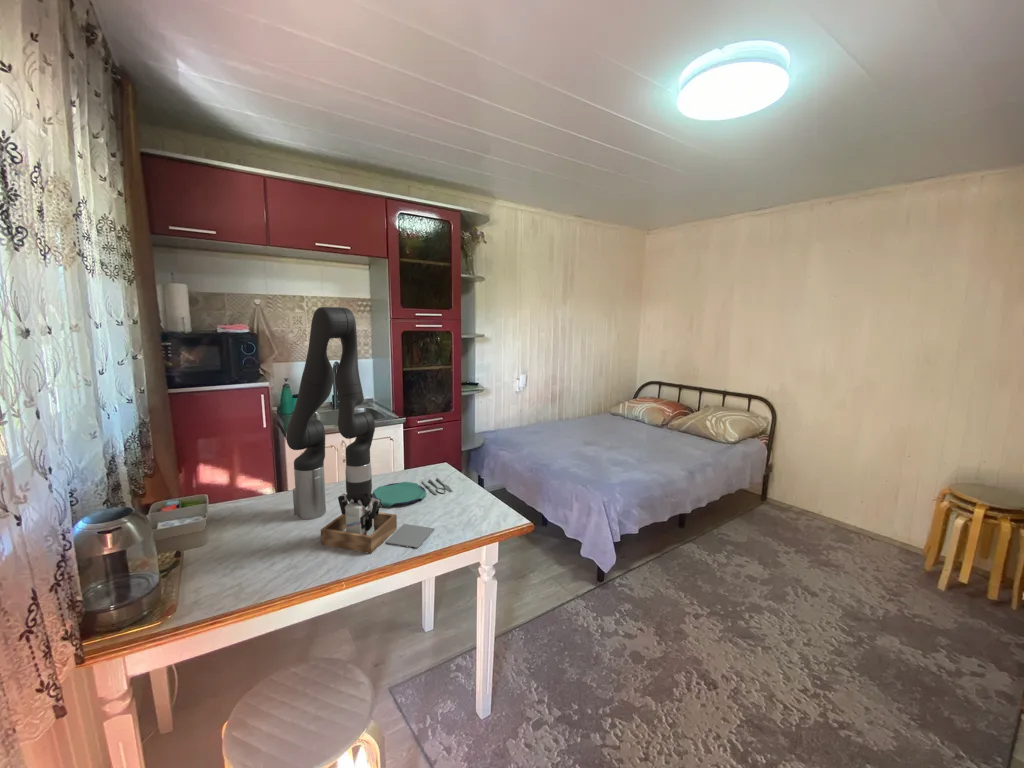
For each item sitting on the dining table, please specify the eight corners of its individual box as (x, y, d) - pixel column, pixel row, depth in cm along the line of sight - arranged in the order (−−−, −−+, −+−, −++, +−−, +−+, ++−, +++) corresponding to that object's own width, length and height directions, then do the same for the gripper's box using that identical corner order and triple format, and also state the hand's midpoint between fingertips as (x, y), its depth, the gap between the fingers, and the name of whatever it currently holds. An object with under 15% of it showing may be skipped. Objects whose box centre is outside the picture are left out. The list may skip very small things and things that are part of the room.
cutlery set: (366, 492, 165) (366, 487, 165) (437, 479, 182) (437, 474, 181) (381, 513, 149) (381, 507, 148) (457, 496, 165) (457, 491, 165)
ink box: (360, 544, 128) (358, 508, 126) (345, 542, 129) (344, 506, 127) (374, 531, 136) (373, 496, 134) (361, 529, 137) (359, 495, 135)
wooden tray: (321, 545, 127) (320, 529, 126) (350, 521, 141) (350, 508, 141) (371, 553, 123) (371, 537, 122) (396, 529, 138) (396, 514, 137)
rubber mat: (385, 543, 129) (385, 542, 129) (403, 525, 140) (403, 523, 140) (418, 549, 126) (418, 547, 126) (434, 529, 138) (434, 528, 138)
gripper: (330, 478, 127) (332, 530, 130) (373, 484, 124) (374, 537, 127) (345, 470, 134) (347, 519, 137) (386, 475, 131) (387, 525, 134)
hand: (360, 528), depth 132 cm, fingers closed on ink box, 5 cm apart
